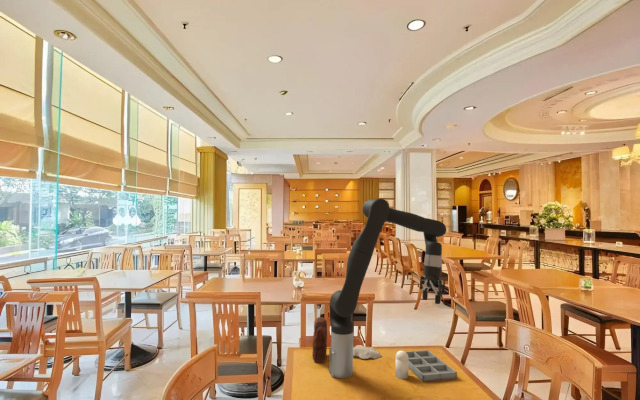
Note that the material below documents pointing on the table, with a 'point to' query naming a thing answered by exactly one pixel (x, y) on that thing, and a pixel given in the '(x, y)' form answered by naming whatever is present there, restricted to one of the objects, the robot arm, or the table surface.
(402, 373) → the cream rounded cylinder
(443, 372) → the grey compartment tray
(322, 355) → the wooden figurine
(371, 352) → the decorative stone
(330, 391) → the table surface
